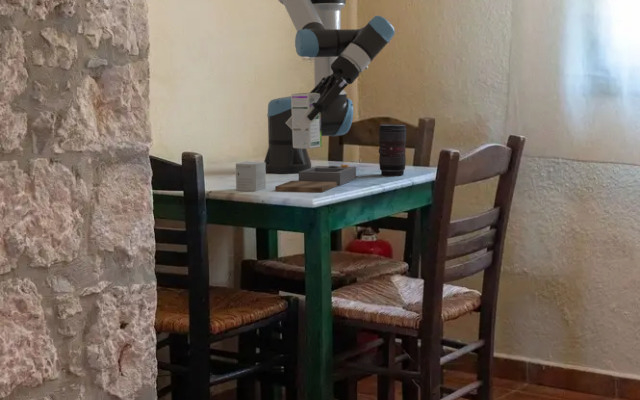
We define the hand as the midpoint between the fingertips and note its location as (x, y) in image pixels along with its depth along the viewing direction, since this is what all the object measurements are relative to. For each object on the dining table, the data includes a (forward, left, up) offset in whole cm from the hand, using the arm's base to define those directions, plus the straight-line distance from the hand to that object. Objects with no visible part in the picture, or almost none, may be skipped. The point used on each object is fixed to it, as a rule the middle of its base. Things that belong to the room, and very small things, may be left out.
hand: (294, 127), depth 248 cm
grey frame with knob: (+3, +19, -17) cm, 25 cm away
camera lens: (+17, +39, -17) cm, 46 cm away
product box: (-12, -2, -17) cm, 21 cm away
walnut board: (+2, +3, -17) cm, 17 cm away
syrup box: (+3, +2, -6) cm, 7 cm away
